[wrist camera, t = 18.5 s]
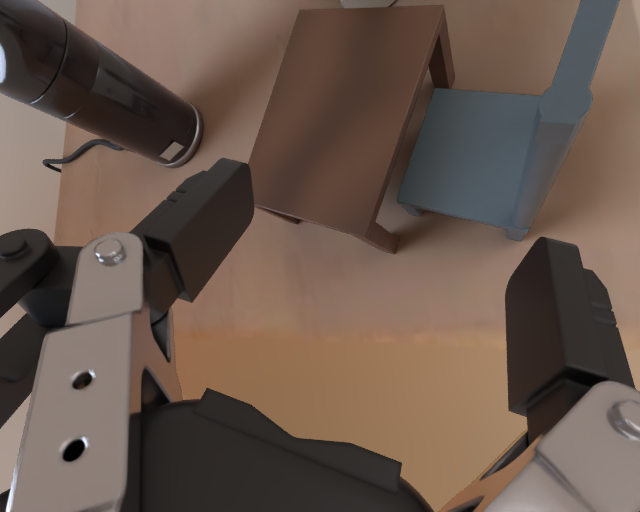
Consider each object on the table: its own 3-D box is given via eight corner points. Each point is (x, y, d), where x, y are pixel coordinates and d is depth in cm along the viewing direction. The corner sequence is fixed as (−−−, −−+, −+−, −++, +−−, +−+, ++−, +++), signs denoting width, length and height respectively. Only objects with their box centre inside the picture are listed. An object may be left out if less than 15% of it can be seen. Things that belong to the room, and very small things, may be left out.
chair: (407, 214, 34) (306, 99, 15) (441, 115, 33) (381, -124, 15) (523, 243, 29) (583, 129, 10) (563, 129, 29) (694, -193, 10)
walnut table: (287, 221, 40) (235, 199, 32) (338, 70, 40) (299, 9, 32) (394, 254, 34) (364, 237, 26) (455, 77, 34) (444, 4, 26)
